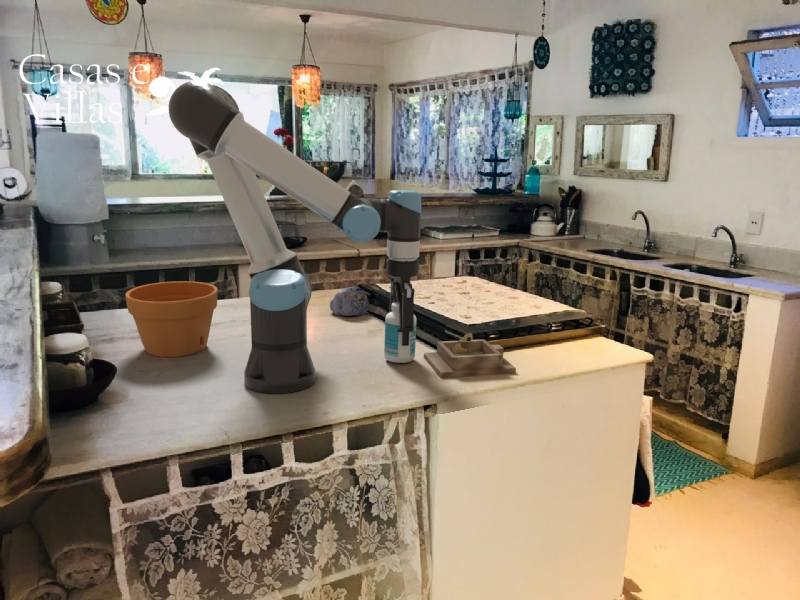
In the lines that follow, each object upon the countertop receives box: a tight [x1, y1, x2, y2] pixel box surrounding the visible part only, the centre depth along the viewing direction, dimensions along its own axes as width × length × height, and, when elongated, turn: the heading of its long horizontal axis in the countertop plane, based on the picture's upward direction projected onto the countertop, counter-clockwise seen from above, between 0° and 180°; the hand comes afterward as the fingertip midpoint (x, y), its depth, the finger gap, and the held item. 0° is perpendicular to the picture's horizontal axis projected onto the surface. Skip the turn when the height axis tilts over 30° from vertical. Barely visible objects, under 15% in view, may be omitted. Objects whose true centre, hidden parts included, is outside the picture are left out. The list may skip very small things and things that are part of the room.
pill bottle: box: [383, 302, 418, 364], centre depth 153 cm, size 8×7×14 cm
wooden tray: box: [423, 338, 517, 378], centre depth 152 cm, size 18×14×4 cm
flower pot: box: [125, 280, 219, 358], centre depth 158 cm, size 21×21×15 cm
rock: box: [329, 285, 370, 317], centre depth 196 cm, size 11×10×10 cm
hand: (399, 352), depth 154 cm, fingers closed on pill bottle, 7 cm apart
